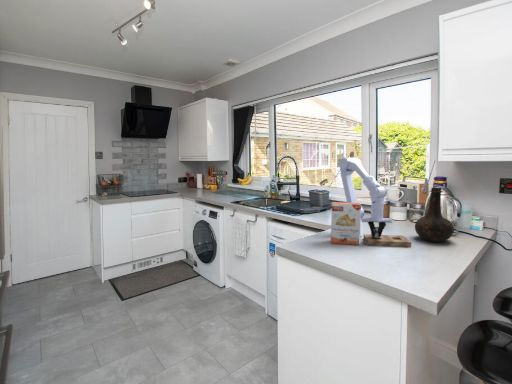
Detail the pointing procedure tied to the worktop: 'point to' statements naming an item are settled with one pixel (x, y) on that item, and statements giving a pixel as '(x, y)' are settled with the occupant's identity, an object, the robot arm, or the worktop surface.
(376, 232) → the drill bit
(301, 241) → the worktop surface
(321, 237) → the worktop surface
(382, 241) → the block
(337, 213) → the cracker box
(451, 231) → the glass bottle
